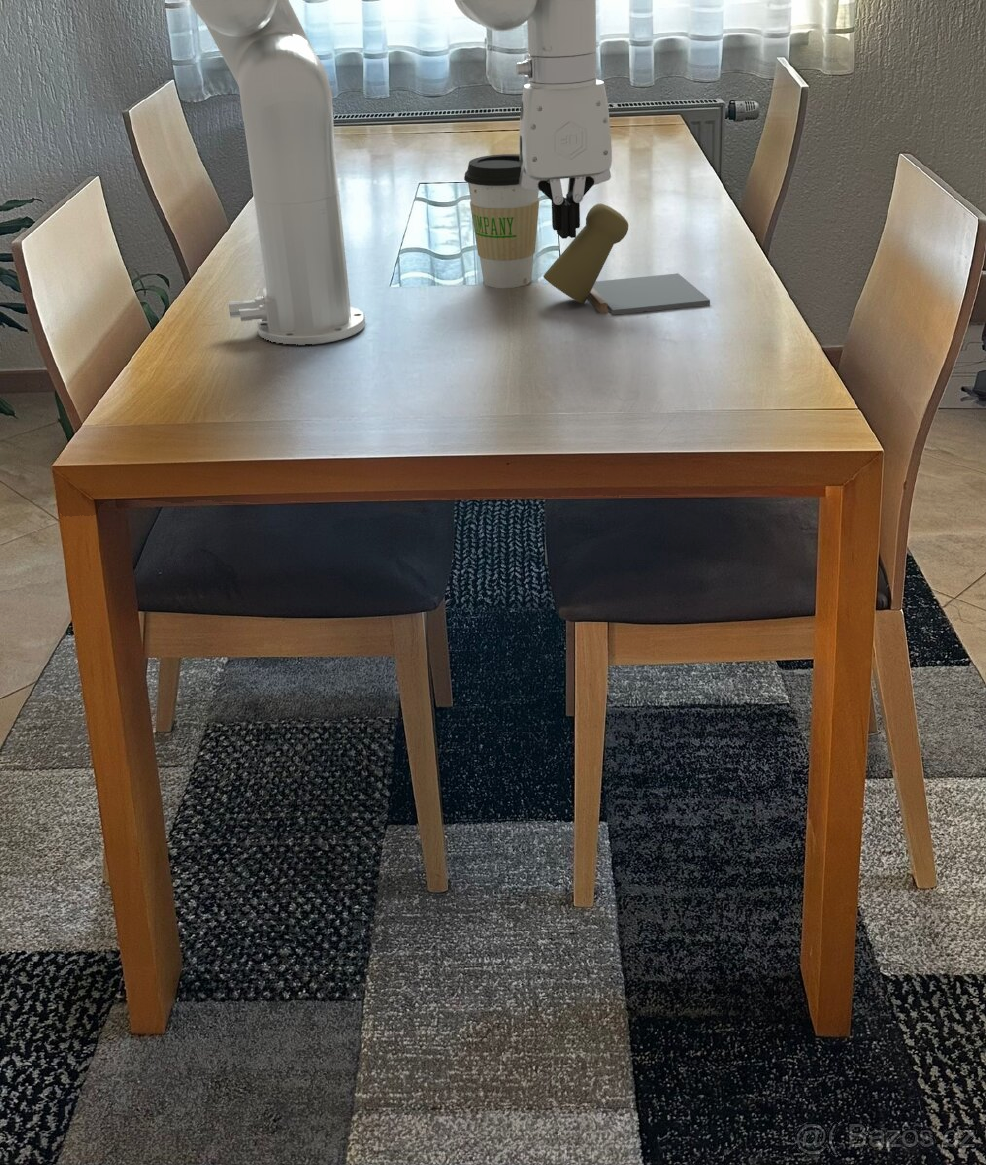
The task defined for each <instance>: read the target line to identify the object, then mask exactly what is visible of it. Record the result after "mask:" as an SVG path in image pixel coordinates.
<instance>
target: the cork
mask: <svg viewBox="0 0 986 1165" xmlns="http://www.w3.org/2000/svg"><path fill="white" fill-rule="evenodd" d="M628 231H629V223H628V220H627V219H626V218H625V217H624V216H623V215H622V214H621V213H620V212H619V211H617V210H616V209H614V208H613V207H611V206H609V205H607V204H603V203H596V204H595V205H593V206H592V207H591V208H590V209H589V210H588V212H587V215H586V218H585V225H584V227H583V228H582V229H581V230H580V231H579V233H577V234H576V237H575V238H573V239H572V241H571V242H570V243H569V244H568V246H566V248H565V249H564V250H563V252H562V253H561V254H560V255H559V256H558V258H557V259H556V260H555V261H554V262H553V264H552V265H551V266H550V267H549V268H548V269H547V271H546V272H545V273H544V274H543V279H544V280H545V281H547V282H548V283H549V284H550V285H551V286H553V287H554V288H556V289H557V290H559V291H560V292H561V293H563V294H564V295H566V296H568V297H569V298H570V299H573V300H574V301H575V302H577V303H579V304H582V305H585V303H586V301H587V300H588V299H587V298H588V296H589V294H590V292H591V290H592V288H593V286H594V284H595V282H596V281H597V280H598V277H599V275H600V273H601V271H602V269H603V267H604V265H605V263H606V261H607V259H608V256H610V253H611V251H612V249H613V247H614V245H616V244H618V243H620V242H621V241H623V239H624V238H625V236H626V235H627V233H628Z"/></svg>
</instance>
